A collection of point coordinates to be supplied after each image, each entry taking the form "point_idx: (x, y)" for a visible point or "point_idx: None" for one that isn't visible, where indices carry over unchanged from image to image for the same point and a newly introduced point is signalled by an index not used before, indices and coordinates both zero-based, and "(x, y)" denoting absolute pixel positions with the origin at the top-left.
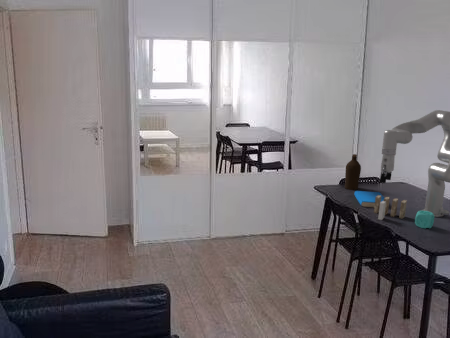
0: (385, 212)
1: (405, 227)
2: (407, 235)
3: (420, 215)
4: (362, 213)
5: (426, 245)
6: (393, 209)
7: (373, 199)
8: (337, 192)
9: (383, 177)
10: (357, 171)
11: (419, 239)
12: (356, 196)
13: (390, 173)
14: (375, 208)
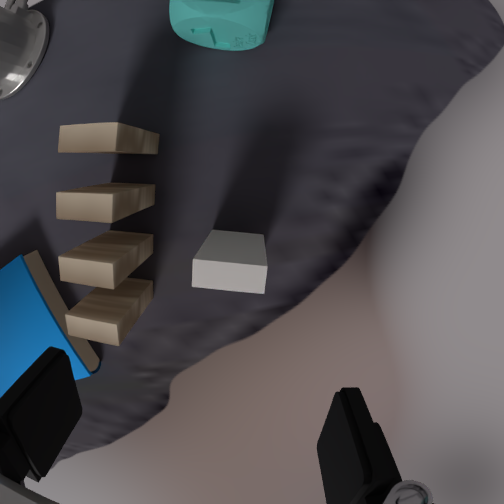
0: (147, 239)
1: (318, 93)
2: (431, 85)
3: (269, 2)
4: (209, 343)
5: (480, 30)
6: (139, 196)
7: (26, 331)
8: None
9: (392, 481)
10: None
11: (443, 41)
12: None
13: (4, 427)
14: (144, 302)
